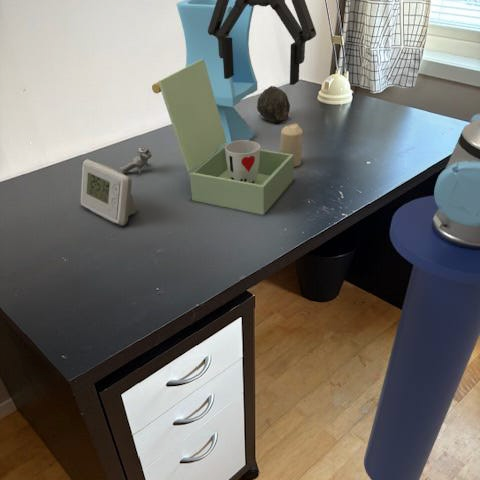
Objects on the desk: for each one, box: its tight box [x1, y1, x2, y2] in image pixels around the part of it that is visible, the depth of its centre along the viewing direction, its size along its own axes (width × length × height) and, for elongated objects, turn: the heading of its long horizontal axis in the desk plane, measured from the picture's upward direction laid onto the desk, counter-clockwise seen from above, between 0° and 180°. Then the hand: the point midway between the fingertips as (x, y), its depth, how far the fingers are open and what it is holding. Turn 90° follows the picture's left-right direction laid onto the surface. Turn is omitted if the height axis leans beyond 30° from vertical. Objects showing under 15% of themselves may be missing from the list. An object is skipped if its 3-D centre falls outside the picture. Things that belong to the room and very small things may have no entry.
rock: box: [256, 85, 291, 123], centre depth 150 cm, size 10×11×10 cm
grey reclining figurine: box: [119, 147, 152, 175], centre depth 125 cm, size 10×6×9 cm
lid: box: [151, 59, 227, 172], centre depth 111 cm, size 19×19×8 cm
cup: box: [225, 140, 261, 184], centre depth 113 cm, size 8×8×10 cm
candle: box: [280, 123, 304, 168], centre depth 124 cm, size 6×6×10 cm
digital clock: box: [80, 158, 136, 227], centre depth 107 cm, size 16×9×11 cm, turn 37°
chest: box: [189, 144, 294, 216], centre depth 114 cm, size 19×19×7 cm
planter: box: [176, 0, 258, 152], centre depth 129 cm, size 16×16×35 cm
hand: (260, 80), depth 90 cm, fingers open, 13 cm apart
